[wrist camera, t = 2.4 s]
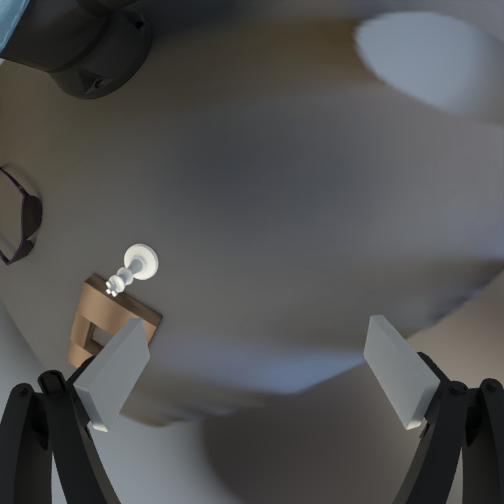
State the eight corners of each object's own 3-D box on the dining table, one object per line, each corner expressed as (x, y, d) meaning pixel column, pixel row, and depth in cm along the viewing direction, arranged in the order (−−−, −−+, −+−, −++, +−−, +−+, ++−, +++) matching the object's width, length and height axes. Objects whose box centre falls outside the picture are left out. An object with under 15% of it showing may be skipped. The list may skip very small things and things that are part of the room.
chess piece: (146, 237, 34) (112, 261, 24) (165, 269, 35) (138, 303, 26) (119, 253, 35) (81, 280, 25) (137, 283, 36) (106, 318, 26)
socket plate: (73, 351, 40) (66, 360, 37) (94, 274, 36) (84, 281, 33) (129, 385, 42) (123, 396, 39) (162, 316, 37) (156, 327, 34)
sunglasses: (30, 267, 36) (12, 277, 31) (-13, 219, 33) (-31, 225, 28) (51, 199, 33) (31, 204, 28) (4, 154, 30) (-15, 156, 25)
